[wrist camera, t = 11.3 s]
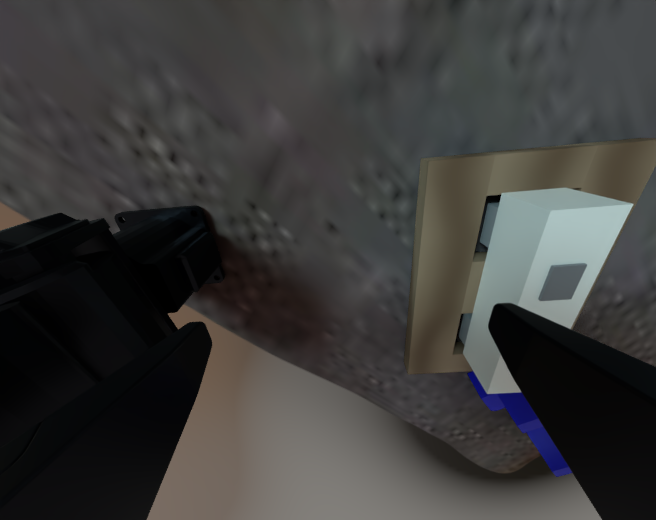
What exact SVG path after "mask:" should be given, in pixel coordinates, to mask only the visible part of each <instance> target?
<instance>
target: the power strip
mask: <svg viewBox="0 0 656 520" xmlns="http://www.w3.org/2000/svg"><path fill="white" fill-rule="evenodd" d="M632 206H633V204H632V203H628V202H623V201H619V200H615V199H611V198H607V197H603V196H598V195H594V194H590V193H586V192H582V191H578V190H573V189H569V188H555V189H543V190H531V191H519V192H508V193H502V194H501V199H500V202H497V203H488V206H487V210H486V215H485V219H484V224H483V228H482V233H481V237H480V242H481V243H482V244H484V245H485V246H486V247H488V252H487V256H486V260H485V264H484V268H483V272H482V277H481V281H480V285H479V289H478V293H477V297H476V301H475V305H474V309H473V313H465V314H463V318H462V323H461V327H460V332H459V338H460V339H461V341H462V342H463V344H464V351H463V355H464V356H465V358H466V360H467V361H468V363H469V365H470V366H471V368H472V370H473V371H474V373H475V375H476V376H477V378H478V380H479V381H480V383H481V385H482V387H483V388H484V390H485V392H486V393H487V394H498V393H519V392H521V391H520V389H519V387H518V386H517V384H516V382H515V381H514V379H513V377H512V375H511V373H510V372H509V370H508V368H507V366H506V364H505V362H504V360H503V358H502V356H501V354H500V352H499V350H498V348H497V346H496V344H495V342H494V340H493V338H492V336H491V334H490V332H489V329H488V323H489V319H490V316H491V313H492V309H493V307H494V305H495V304H497V303H513V304H515V305H517V306H520V307H522V308H524V309H526V310H529V311H531V312H533V313H535V314H538V315H540V316H542V317H544V318H547V319H549V320H551V321H553V322H556V323H558V324H560V325H562V326H565V327H567V328H569V329H571V327H572V325H573V323H574V321H575V319H576V317H577V315H578V313H579V311H580V309H581V307H582V305H583V303H584V301H585V299H586V297H587V295H588V293H589V291H590V290H591V288H592V286H593V284H594V282H595V280H596V278H597V276H598V274H599V272H600V270H601V268H602V266H603V264H604V262H605V260H606V258H607V256H608V254H609V252H610V250H611V248H612V246H613V244H614V242H615V240H616V238H617V236H618V234H619V232H620V230H621V228H622V226H623V224H624V222H625V220H626V218H627V216H628V214H629V212H630V210H631V208H632Z"/></svg>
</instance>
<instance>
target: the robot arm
mask: <svg viewBox="0 0 656 520" xmlns="http://www.w3.org/2000/svg"><path fill="white" fill-rule="evenodd" d="M193 210H194V211H196V212H197V213H198V216H197V215H195V214H194V213H193ZM122 217H123V218H124V219H125V221H124V220H123V218H122ZM115 221H116V223H117V225H118V227H119V228H120V230H121V231H119V232H117V233H115V234H113V235H112V233H111V232H110V230H109V228H110V226H109V225H108V223H107V222H106V220H105V219H104V218H101V219H97V220H93V221H88V219H84V220H76V219H73V218H71V217H69V216H67V215H65V214H63V213H57V214H54V215H50V216H46V217H43V218H40V219H36V220H33V221H30V222H27V223H23V224H20V225H17V226H14V227H11V228H7V229H4V230H1V231H0V520H146V519H147V517H148V514H149V512H150V510H151V507H152V505H153V502H154V500H155V497H156V495H157V493H158V490H159V488H160V485H161V483H162V480H163V478H164V475H165V473H166V471H167V468H168V466H169V463H170V461H171V458H172V456H173V453H174V451H175V449H176V446H177V444H178V441H179V439H180V437H181V434H182V432H183V429H184V427H185V424H186V422H187V419H188V417H189V414H190V412H191V410H192V407H193V405H194V402H195V400H196V397H197V394H198V391H199V388H200V384H201V382H202V378H203V375H204V372H205V368H206V365H207V361H208V358H209V355H210V352H211V348H212V340H211V337H210V335H209V333H208V330H207V328H206V325H205V324H204V323H203V322H190V323H187V324H186V325H184V326H183V327H182V328H180V329H177V327H176V326H175V324H174V323H173V322H172V320H171V319H170V317H169V316H168V313H175V312H177V311H178V310H179V309H180V308H181V306H182V305H183V304H184V303H185V302H186V301H187V299H188V298H189V297H190V296H191V295H192V293H193V292H197V291H199V289H200V288H201V287H202V286H203V284H210V283H220V282H222V281H223V279H224V278H225V274H224V271H223V269H222V266H221V262H222V260H221V257H220V254H219V251H218V248H217V245H216V242H215V239H214V236H213V234H212V233H211V232H210V230H209V227H208V224H207V221H206V218H205V215H204V212H203V210H202V209H201V208H200V207H199V206H184V207H173V208H161V209H150V210H139V211H127V212H121V213H118V214H116V215H115ZM216 275H218V276H219V277H220V278H218V277H217V276H216ZM488 329H489V332H490V334H491V336H492V338H493V340H494V342H495V344H496V346H497V348H498V350H499V352H500V354H501V356H502V358H503V360H504V362H505V364H506V366H507V368H508V370H509V372H510V373H511V375H512V377H513V379H514V381H515V382H516V384H517V386H518V387H519V389H520V391H521V392H522V394H523V395H524V397H525V398H526V400H527V402H528V403H529V405H530V406H531V408H532V410H533V411H534V413H535V414H536V416H537V417H538V419H539V421H540V422H541V424H542V425H543V427H544V429H545V430H546V432H547V433H548V435H549V436H550V438H551V440H552V441H553V443H554V444H555V446H556V447H557V449H558V451H559V452H560V454H561V455H562V457H563V459H564V460H565V462H566V463H567V465H568V466H569V468H570V470H571V471H572V473H573V474H574V476H575V478H576V479H577V481H578V482H579V484H580V485H581V487H582V489H583V490H584V492H585V493H586V495H587V496H588V498H589V500H590V501H591V503H592V504H593V506H594V508H595V509H596V511H597V512H598V514H599V515H600V517H601V518H602V520H656V367H654V366H652V365H650V364H648V363H645V362H643V361H641V360H639V359H636V358H634V357H632V356H630V355H627V354H625V353H623V352H621V351H618V350H616V349H614V348H612V347H609V346H607V345H605V344H603V343H600V342H598V341H596V340H594V339H591V338H589V337H587V336H585V335H582V334H580V333H578V332H576V331H574V330H571V329H569V328H567V327H565V326H562V325H560V324H558V323H556V322H553V321H551V320H549V319H547V318H544V317H542V316H540V315H538V314H535V313H533V312H531V311H529V310H526V309H524V308H522V307H520V306H517V305H515V304H513V303H497V304H495V305H494V307H493V309H492V313H491V316H490V319H489V323H488Z"/></svg>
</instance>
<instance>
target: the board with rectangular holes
mask: <svg viewBox="0 0 656 520" xmlns="http://www.w3.org/2000/svg"><path fill="white" fill-rule="evenodd" d="M655 166H656V138H636V139H625V140H614V141H604V142H593V143H582V144H571V145H561V146H550V147H539V148H529V149H518V150H507V151H497V152H486V153H475V154H464V155H454V156H443V157H432V158H422V159H421V163H420V175H419V187H418V199H417V211H416V223H415V235H414V247H413V259H412V271H411V283H410V295H409V307H408V319H407V331H406V343H405V355H404V364H405V367H406V370H407V373H408V374H426V373H446V372H465V371H473V370H472V368H471V366H470V365H469V363H468V361H467V360H466V358H465V356H464V355H463V351H464V344H463V342H455V340H456V336H457V331H458V326H459V322H460V317H461V314H465V313H473V309H474V305H475V301H476V297H477V293H478V289H479V285H480V281H481V277H482V272H483V268H484V264H485V260H486V256H487V252H476V253H474V252H475V247H476V243H477V238H478V233H479V229H480V224H481V219H482V215H483V210H484V205H485V201H486V196H491V195H501V194H502V193H508V192H519V191H531V190H543V189H555V188H569V189H573V190H578V191H582V192H586V193H590V194H594V195H598V196H603V197H607V198H611V199H615V200H619V201H623V202H628V203H632V204H633V206H632V208H631V210H630V212H629V214H628V216H627V218H626V220H625V222H624V224H623V226H622V228H621V230H620V232H619V234H618V236H617V238H616V240H615V242H614V244H613V246H612V248H611V250H610V252H609V254H608V256H607V258H606V260H605V262H604V264H603V266H602V268H601V270H600V272H599V274H598V276H597V278H596V280H595V282H594V284H593V286H592V288H591V290H590V291H589V293H588V295H587V297H586V299H585V301H584V303H583V305H582V307H581V309H580V311H579V313H578V315H577V317H576V319H575V321H574V323H573V325H572V327H571V330H572V329H573V327H574V325H575V323H576V321H577V319H578V317H579V315H580V313H581V311H582V309H583V307H584V306H585V304H586V302H587V300H588V298H589V296H590V294H591V292H592V290H593V288H594V286H595V284H596V282H597V280H598V278H599V276H600V274H601V272H602V270H603V268H604V266H605V264H606V262H607V260H608V258H609V256H610V254H611V252H612V250H613V249H614V247H615V245H616V243H617V241H618V239H619V237H620V235H621V233H622V231H623V229H624V227H625V225H626V223H627V221H628V219H629V217H630V215H631V213H632V211H633V209H634V207H635V205H636V203H637V201H638V199H639V197H640V195H641V193H642V191H643V190H644V188H645V186H646V184H647V182H648V180H649V178H650V176H651V174H652V172H653V170H654V168H655Z"/></svg>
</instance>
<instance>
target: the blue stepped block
mask: <svg viewBox="0 0 656 520" xmlns="http://www.w3.org/2000/svg"><path fill="white" fill-rule="evenodd" d="M467 374H468V376H469V378H470V380H471V381H472V383H473V385H474V387H475V389H476V390H477V392H478V394H479V396H480V397H481V399H482V400H483V401H484V403H485V404H486V405H487V406H488V408H489V409H490V410H491V411H493V410H494V411H497V410H500V409H503V408H506V409H507V411H508V412H509V414H510V415H511V417H512V419H513V420H514V422H515V423H516V425H517V426H518V428H519V429H520V430H521V432H522V433H525V432H526V433H527V434H528V436H529V437H530V439H531V440H532V442H533V443H534V445H535V446H536V448H537V449H538V451H539V452H540V454H541V455H542V457H543V458H544V460H545V461H546V463H547V464H548V466H549V467H550V469H551V470H552V472H553V473H554V474H555V476H556V477H558V476H562V475H566V474H569V473H572V471H571V470H570V468H569V466H568V465H567V463H566V462H565V460H564V459H563V457H562V455H561V454H560V452H559V451H558V449H557V447H556V446H555V444H554V443H553V441H552V440H551V438H550V436H549V435H548V433H547V432H546V430H545V429H544V427H543V425H542V424H541V422H540V421H539V419H538V417H537V416H536V414H535V413H534V411H533V410H532V408H531V406H530V405H529V403H528V402H527V400H526V398H525V397H524V395H523V394H522V392H519V393H498V394H487V393H486V392H485V390H484V388H483V387H482V385H481V383H480V381H479V380H478V378H477V376H476V375H475V373H474V371H472V372H470V373H467Z"/></svg>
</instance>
